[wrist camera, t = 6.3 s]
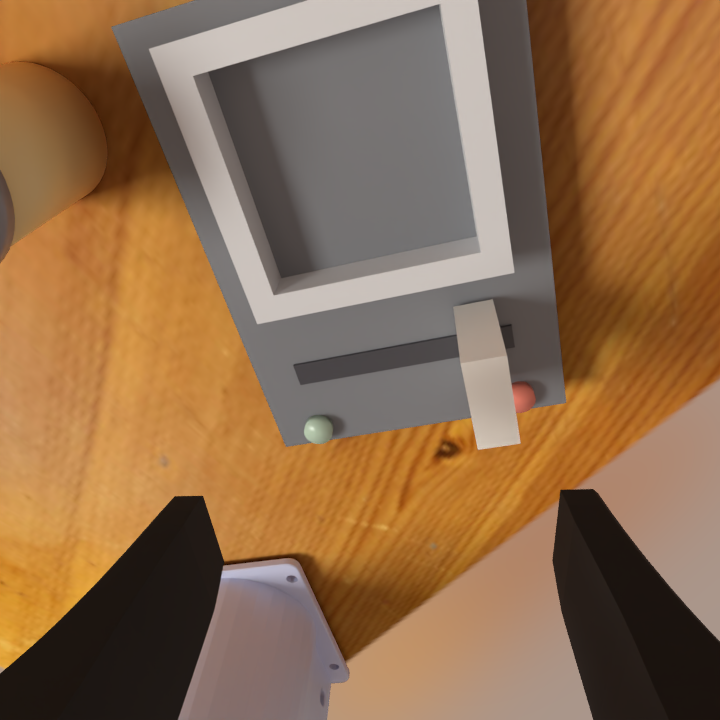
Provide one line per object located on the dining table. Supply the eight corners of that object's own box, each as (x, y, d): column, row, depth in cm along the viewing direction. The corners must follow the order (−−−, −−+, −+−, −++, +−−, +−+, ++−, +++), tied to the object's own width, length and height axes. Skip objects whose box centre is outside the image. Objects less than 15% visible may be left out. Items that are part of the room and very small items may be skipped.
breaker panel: (558, 382, 21) (574, 425, 19) (291, 426, 23) (280, 469, 21) (508, -97, 14) (525, -109, 12) (130, 23, 16) (89, 30, 14)
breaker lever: (505, 379, 20) (520, 443, 17) (468, 385, 20) (478, 449, 17) (492, 299, 18) (507, 355, 15) (453, 306, 18) (460, 363, 16)
